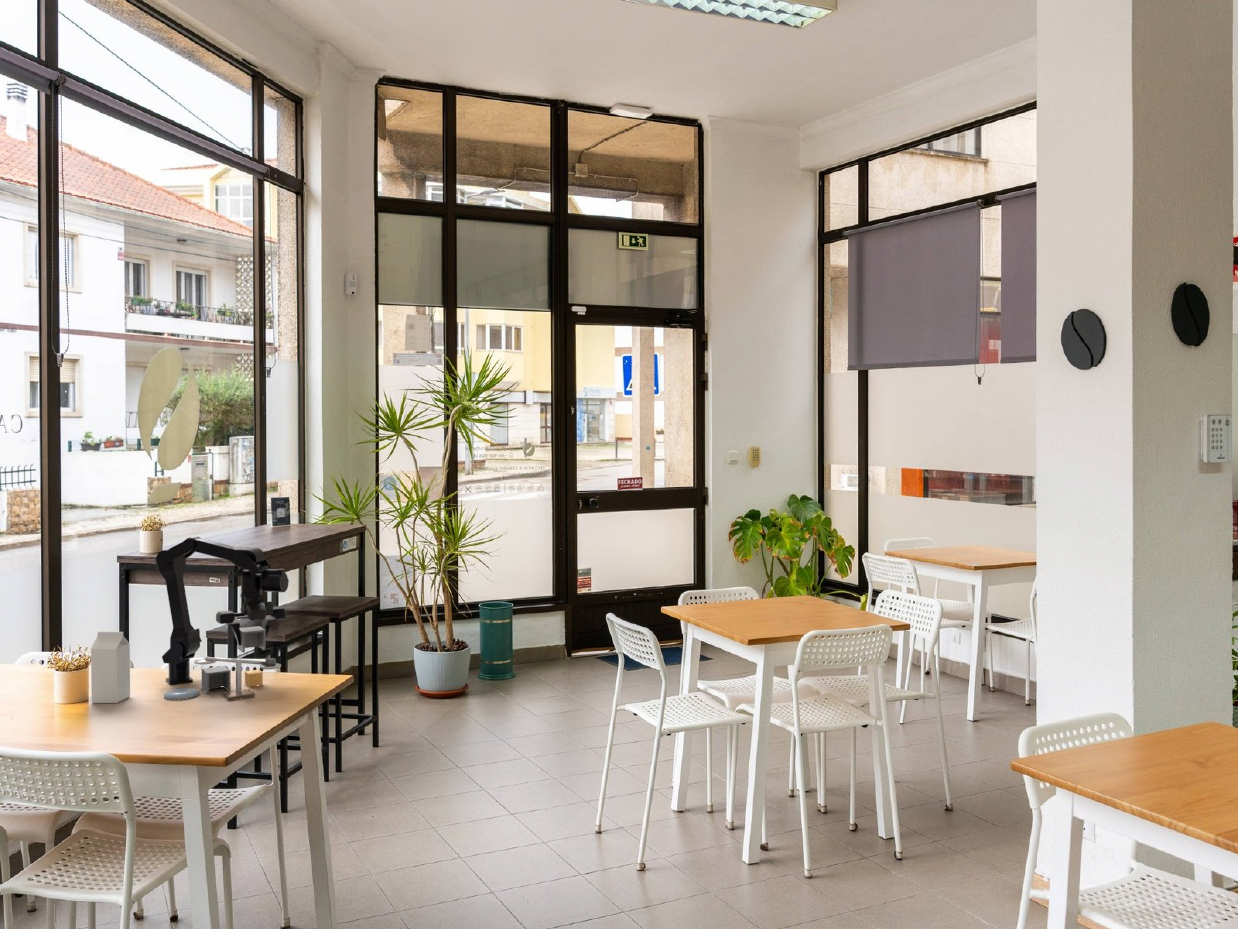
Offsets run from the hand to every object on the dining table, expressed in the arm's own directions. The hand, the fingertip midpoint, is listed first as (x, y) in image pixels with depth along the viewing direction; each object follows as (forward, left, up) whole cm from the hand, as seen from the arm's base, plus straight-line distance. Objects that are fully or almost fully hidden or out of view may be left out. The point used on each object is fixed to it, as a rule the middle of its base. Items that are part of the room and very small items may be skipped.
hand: (251, 644), depth 295 cm
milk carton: (-3, -37, -12) cm, 39 cm away
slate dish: (+3, -20, -12) cm, 23 cm away
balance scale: (+13, -7, -12) cm, 19 cm away
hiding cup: (0, 0, -2) cm, 2 cm away
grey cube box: (+2, -10, -12) cm, 16 cm away
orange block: (+2, 0, -12) cm, 12 cm away
